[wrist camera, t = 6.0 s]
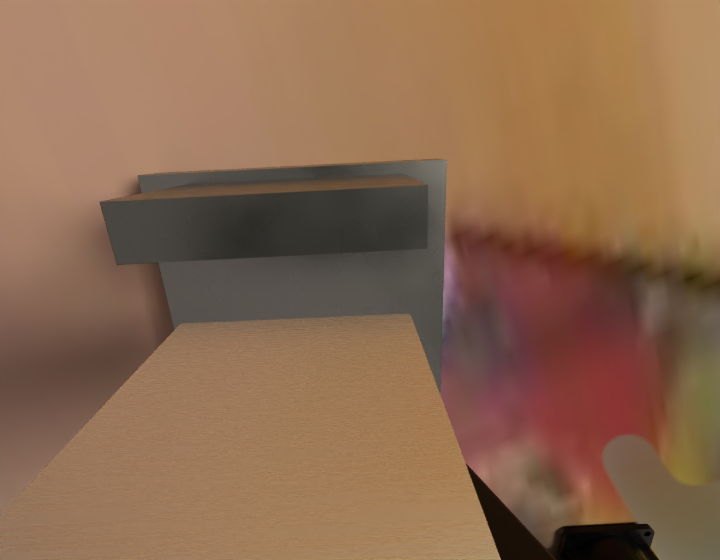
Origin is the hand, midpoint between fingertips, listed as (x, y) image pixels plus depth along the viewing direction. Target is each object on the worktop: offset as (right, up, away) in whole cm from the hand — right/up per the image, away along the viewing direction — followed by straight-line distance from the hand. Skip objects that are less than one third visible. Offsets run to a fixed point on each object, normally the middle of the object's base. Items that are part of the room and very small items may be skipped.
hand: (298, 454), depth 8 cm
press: (-1, -4, +16) cm, 16 cm away
